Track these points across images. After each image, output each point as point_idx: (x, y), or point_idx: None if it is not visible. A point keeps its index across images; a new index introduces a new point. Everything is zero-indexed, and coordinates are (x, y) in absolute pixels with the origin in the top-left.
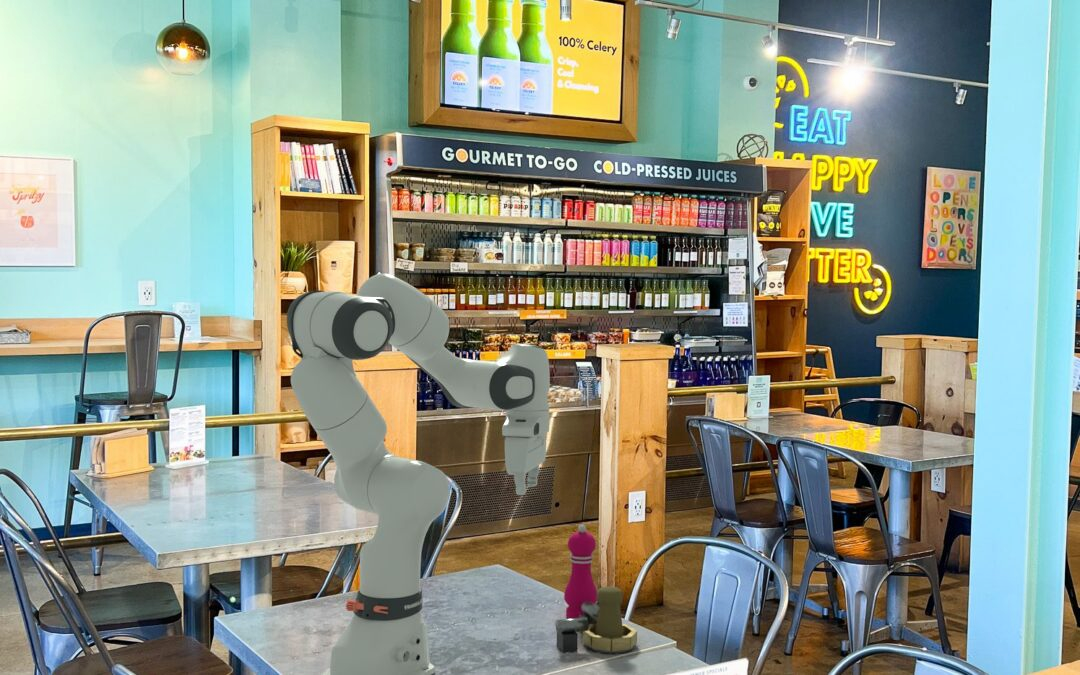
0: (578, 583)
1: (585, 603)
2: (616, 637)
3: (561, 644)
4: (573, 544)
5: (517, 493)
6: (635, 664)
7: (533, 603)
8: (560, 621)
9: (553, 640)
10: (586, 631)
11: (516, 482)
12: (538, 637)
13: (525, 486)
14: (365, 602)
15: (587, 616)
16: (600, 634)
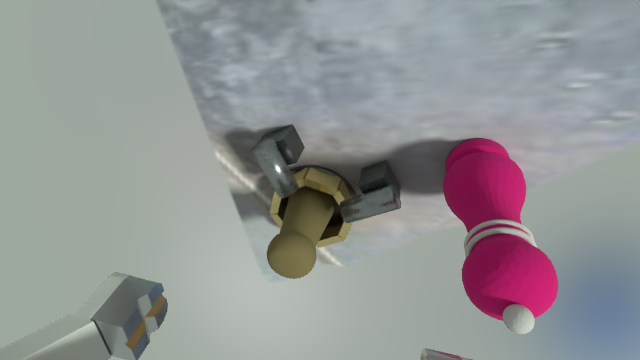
0: (460, 203)
1: (384, 198)
2: (279, 220)
3: (266, 138)
4: (475, 262)
5: (113, 279)
6: (249, 222)
7: (606, 58)
8: (255, 155)
9: (324, 118)
10: (297, 182)
11: (32, 341)
12: (336, 90)
13: (119, 352)
14: None
15: (367, 189)
16: (290, 200)
